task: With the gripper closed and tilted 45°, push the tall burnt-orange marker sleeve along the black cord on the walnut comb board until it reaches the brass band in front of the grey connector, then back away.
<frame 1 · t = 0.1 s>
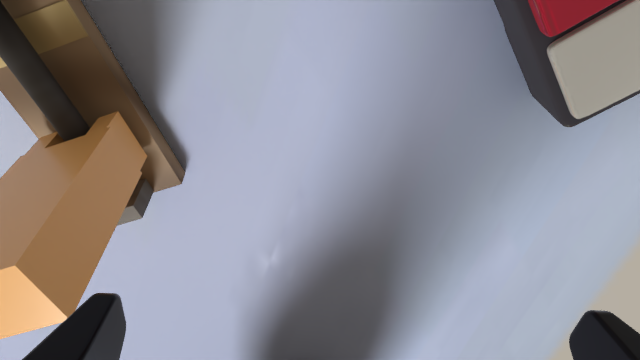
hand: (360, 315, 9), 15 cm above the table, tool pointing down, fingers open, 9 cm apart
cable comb: (81, 96, 22), on the table
sleeve: (50, 211, 18), point 6 cm above the table, slide at 0.0 cm
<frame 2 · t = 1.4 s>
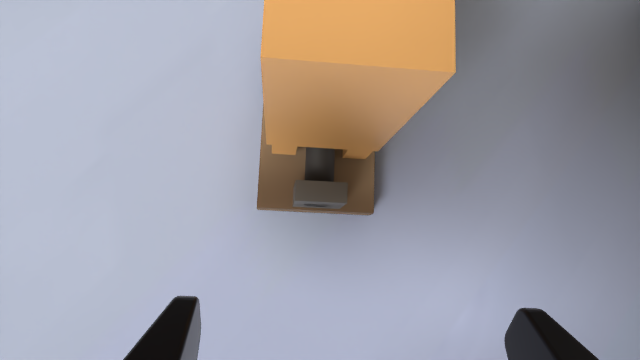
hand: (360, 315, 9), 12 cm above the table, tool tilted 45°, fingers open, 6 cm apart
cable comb: (318, 95, 22), on the table
sleeve: (334, 88, 15), point 6 cm above the table, slide at 0.0 cm
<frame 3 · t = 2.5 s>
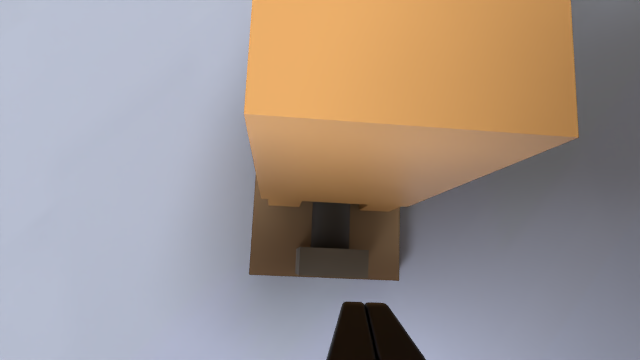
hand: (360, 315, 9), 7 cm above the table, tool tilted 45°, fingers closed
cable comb: (328, 126, 17), on the table
sleeve: (355, 132, 11), point 6 cm above the table, slide at 0.0 cm
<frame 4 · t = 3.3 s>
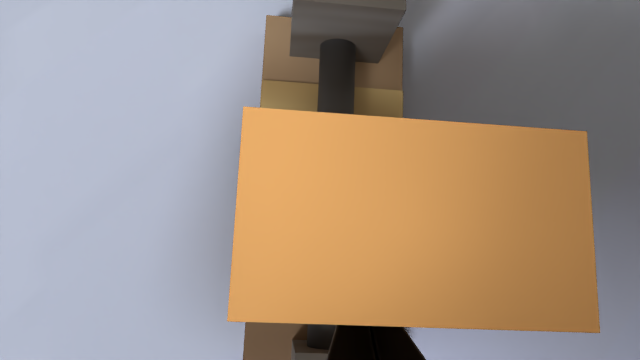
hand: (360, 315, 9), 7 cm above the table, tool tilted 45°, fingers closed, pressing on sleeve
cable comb: (325, 202, 17), on the table
sleeve: (353, 239, 10), point 6 cm above the table, slide at 0.4 cm, touching gripper
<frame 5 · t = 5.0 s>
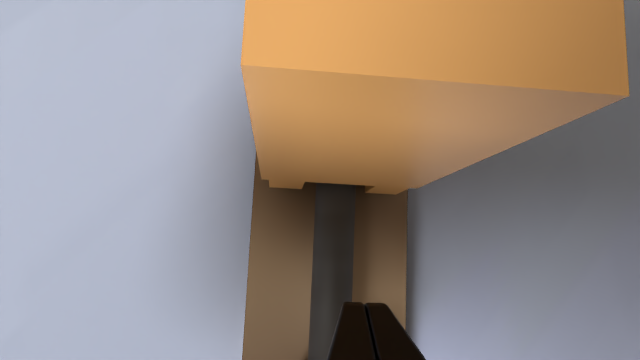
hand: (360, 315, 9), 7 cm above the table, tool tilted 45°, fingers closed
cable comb: (326, 226, 16), on the table
sleeve: (363, 105, 10), point 6 cm above the table, slide at 4.3 cm
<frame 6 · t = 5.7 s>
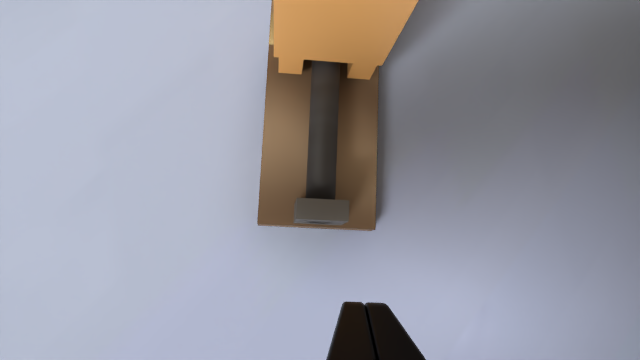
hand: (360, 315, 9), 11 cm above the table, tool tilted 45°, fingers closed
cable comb: (320, 109, 21), on the table
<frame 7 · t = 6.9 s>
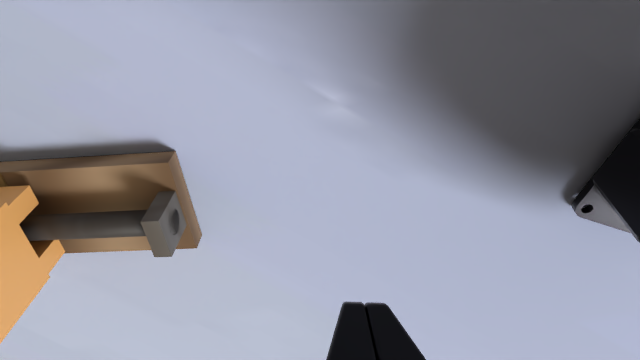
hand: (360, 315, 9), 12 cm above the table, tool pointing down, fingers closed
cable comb: (83, 201, 23), on the table
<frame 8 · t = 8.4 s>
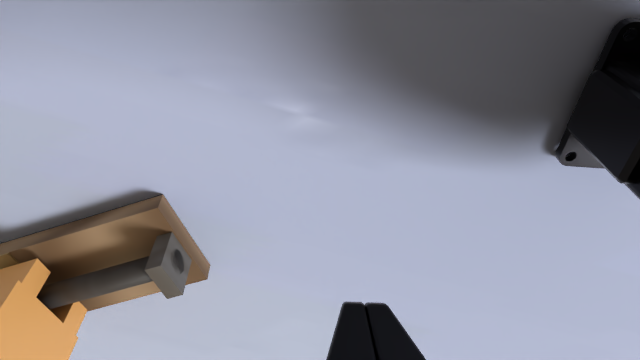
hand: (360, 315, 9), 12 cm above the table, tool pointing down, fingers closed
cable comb: (92, 259, 24), on the table
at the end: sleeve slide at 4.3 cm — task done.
